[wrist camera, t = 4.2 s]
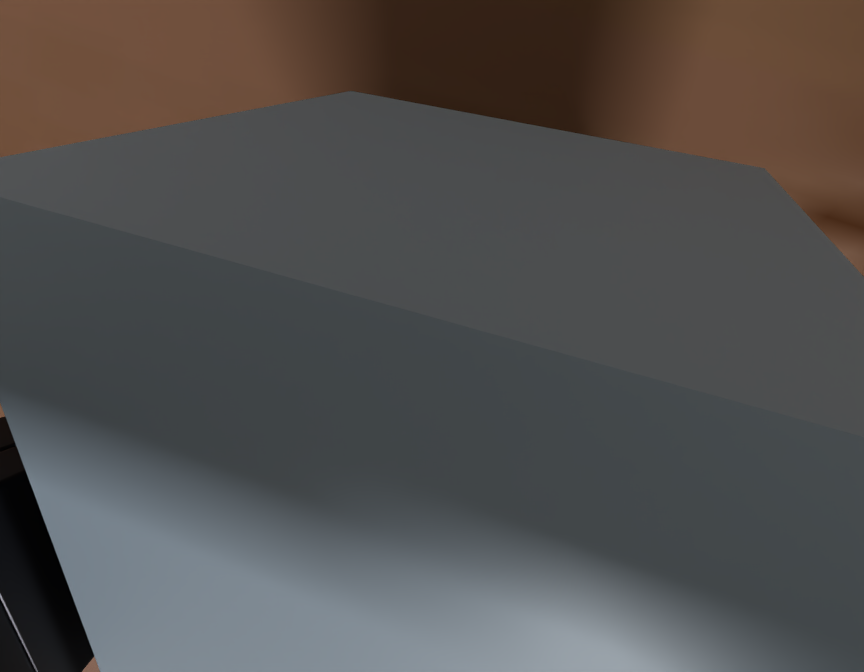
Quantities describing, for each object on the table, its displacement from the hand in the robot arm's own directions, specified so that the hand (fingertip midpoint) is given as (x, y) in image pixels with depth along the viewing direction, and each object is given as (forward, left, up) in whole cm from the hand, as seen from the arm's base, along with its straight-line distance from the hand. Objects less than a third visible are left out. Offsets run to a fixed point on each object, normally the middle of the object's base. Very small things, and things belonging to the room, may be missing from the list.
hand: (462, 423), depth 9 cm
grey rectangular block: (0, 0, -2) cm, 2 cm away
